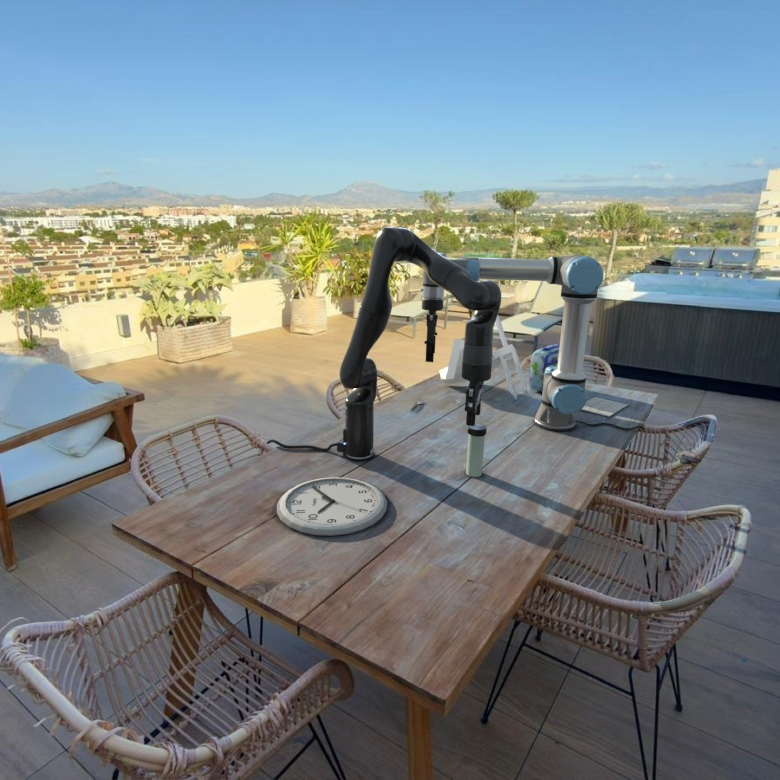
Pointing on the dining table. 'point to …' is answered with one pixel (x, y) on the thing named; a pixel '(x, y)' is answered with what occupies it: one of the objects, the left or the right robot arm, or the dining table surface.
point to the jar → (475, 455)
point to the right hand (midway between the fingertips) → (430, 357)
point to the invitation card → (603, 406)
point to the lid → (477, 430)
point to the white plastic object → (499, 356)
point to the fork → (418, 403)
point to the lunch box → (542, 365)
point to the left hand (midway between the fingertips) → (473, 419)
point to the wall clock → (331, 506)
